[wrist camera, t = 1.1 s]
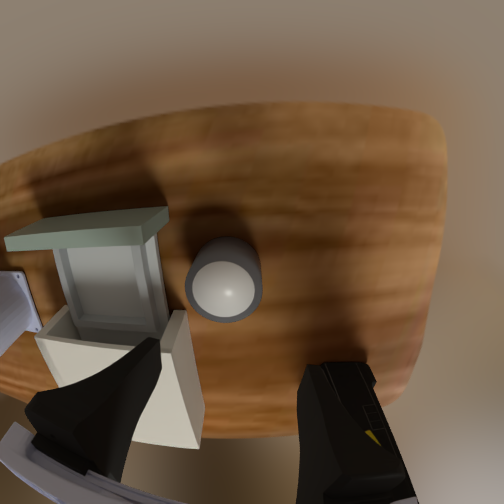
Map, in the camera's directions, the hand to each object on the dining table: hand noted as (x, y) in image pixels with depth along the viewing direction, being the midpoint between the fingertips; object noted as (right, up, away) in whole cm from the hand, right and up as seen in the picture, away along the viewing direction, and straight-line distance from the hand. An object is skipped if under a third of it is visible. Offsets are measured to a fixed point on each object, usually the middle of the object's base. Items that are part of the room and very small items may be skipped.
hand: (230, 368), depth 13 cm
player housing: (-12, -6, +15) cm, 20 cm away
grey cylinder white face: (-1, +4, +11) cm, 12 cm away
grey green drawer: (-12, +3, +11) cm, 16 cm away
